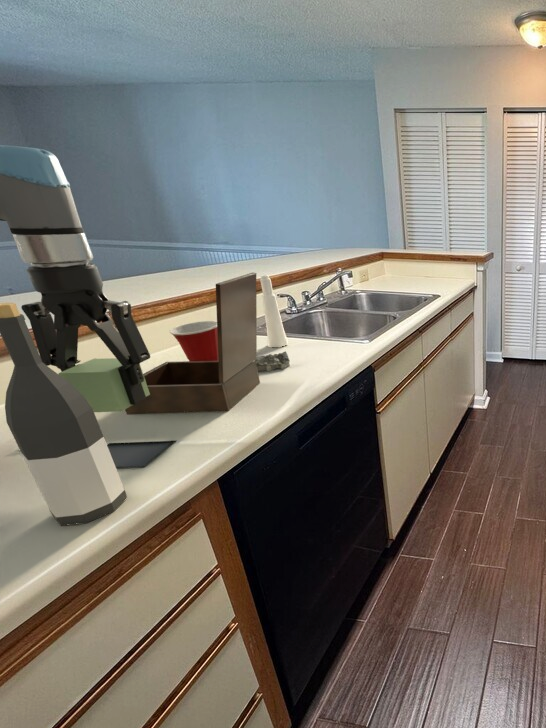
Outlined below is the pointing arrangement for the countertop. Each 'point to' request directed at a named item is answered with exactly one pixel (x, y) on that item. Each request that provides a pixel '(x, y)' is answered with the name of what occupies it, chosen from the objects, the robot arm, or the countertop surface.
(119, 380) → the cube
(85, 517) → the wine bottle
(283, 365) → the grey rock
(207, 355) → the plastic cup
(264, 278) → the white tapered tower
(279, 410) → the countertop surface
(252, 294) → the lid
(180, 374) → the chest
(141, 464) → the mat
